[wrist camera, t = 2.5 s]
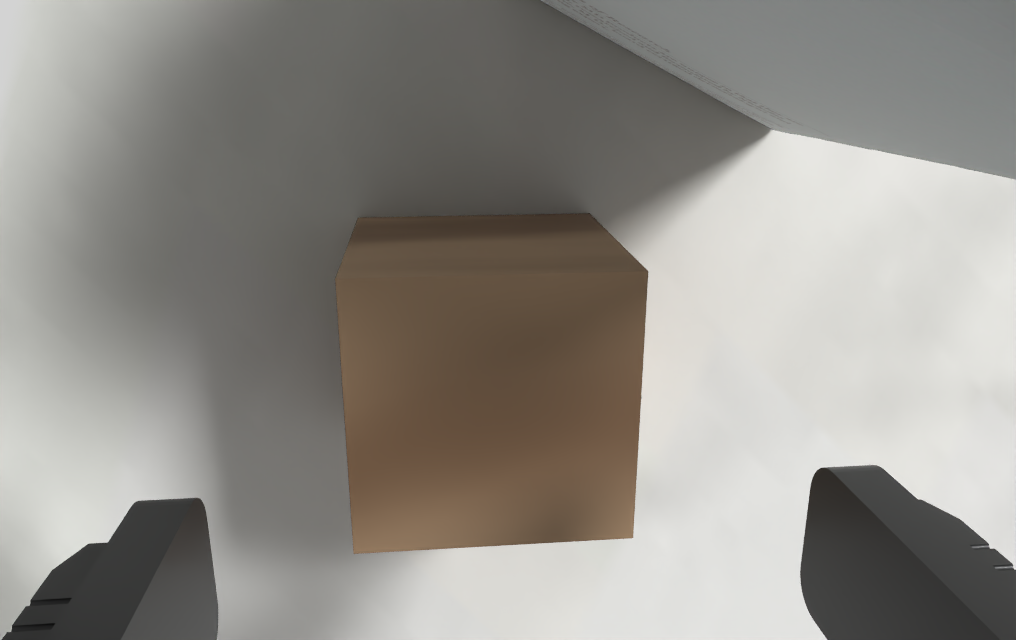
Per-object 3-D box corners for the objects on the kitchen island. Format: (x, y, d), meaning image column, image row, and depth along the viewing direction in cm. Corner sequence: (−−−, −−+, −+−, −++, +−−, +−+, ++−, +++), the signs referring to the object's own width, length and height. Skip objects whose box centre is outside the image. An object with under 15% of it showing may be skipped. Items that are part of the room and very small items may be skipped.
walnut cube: (358, 217, 18) (334, 279, 13) (588, 212, 18) (648, 271, 13) (370, 428, 19) (353, 554, 14) (582, 419, 20) (633, 537, 15)
